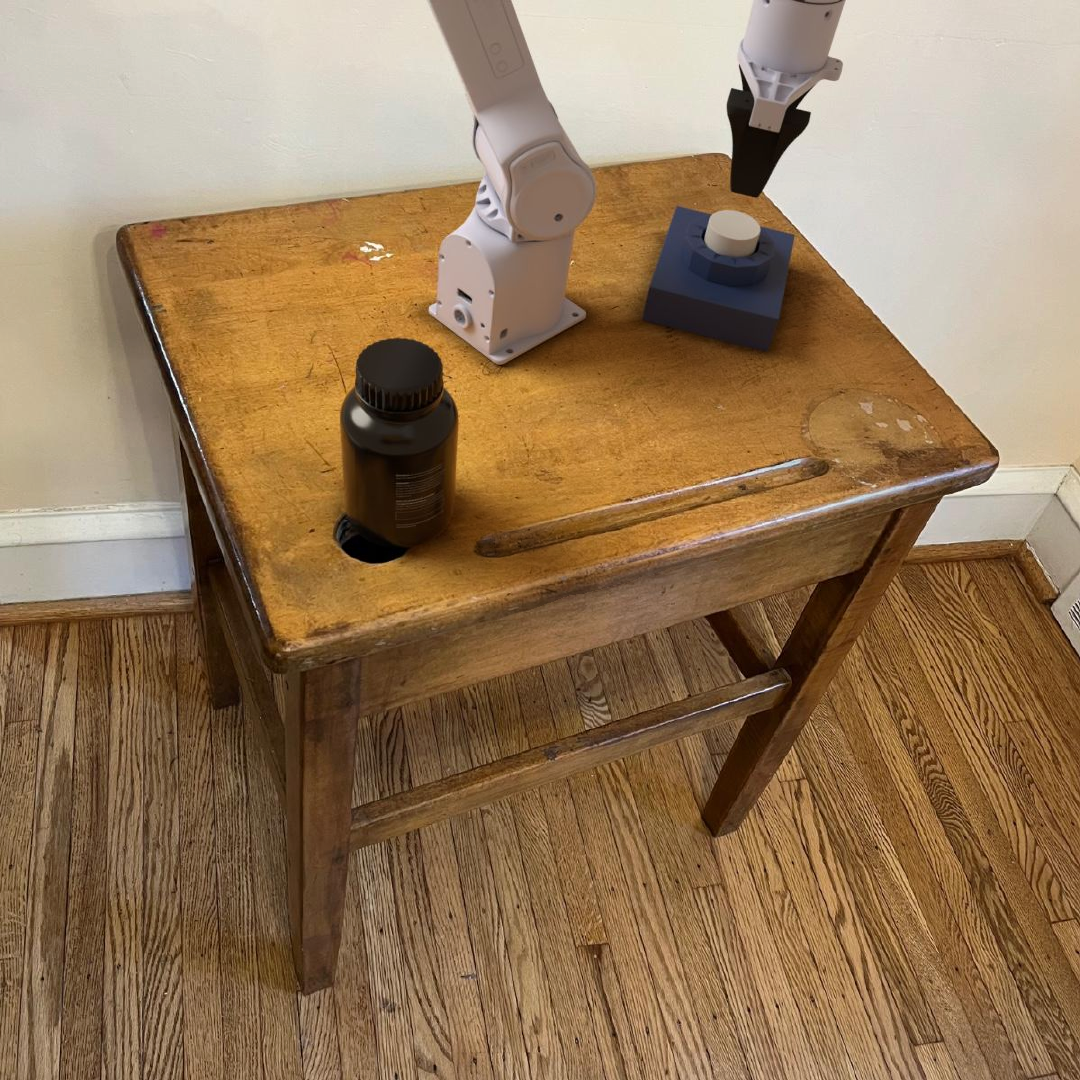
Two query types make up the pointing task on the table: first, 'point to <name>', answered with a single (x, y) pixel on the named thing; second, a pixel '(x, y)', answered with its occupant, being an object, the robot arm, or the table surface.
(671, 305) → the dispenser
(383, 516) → the supplement bottle
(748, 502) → the table surface
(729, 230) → the cylinder
